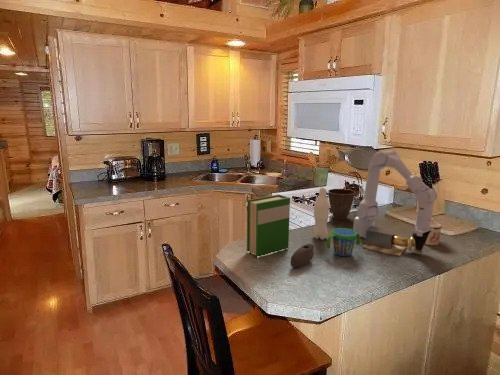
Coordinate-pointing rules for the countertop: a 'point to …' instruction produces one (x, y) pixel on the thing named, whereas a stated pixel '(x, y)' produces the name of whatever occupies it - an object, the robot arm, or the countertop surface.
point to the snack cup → (343, 241)
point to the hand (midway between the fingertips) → (420, 247)
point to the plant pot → (341, 202)
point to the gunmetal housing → (379, 237)
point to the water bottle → (321, 215)
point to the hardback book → (268, 224)
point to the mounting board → (394, 250)
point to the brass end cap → (405, 243)
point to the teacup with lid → (434, 233)
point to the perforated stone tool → (302, 256)
